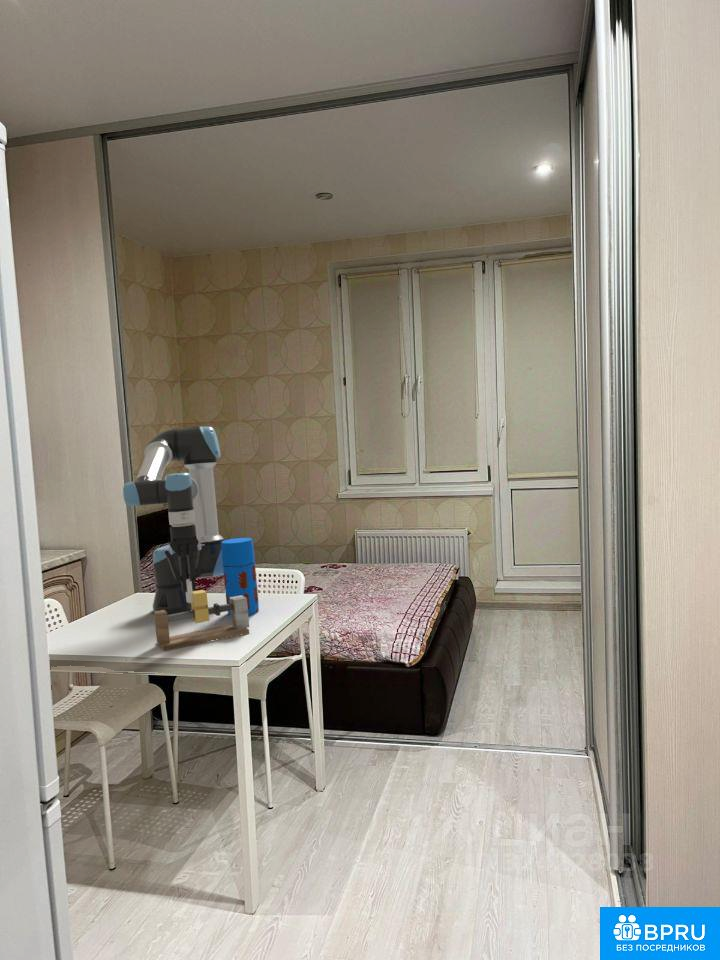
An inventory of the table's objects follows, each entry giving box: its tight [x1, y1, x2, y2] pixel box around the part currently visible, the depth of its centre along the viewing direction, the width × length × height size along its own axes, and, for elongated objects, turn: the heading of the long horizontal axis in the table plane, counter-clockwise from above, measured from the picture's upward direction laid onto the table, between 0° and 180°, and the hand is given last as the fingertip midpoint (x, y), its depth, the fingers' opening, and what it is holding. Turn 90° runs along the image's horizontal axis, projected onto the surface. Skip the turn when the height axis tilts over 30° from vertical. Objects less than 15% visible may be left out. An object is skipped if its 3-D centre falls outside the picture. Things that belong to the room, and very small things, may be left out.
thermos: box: [221, 537, 260, 617], centre depth 257 cm, size 11×11×25 cm
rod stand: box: [153, 595, 250, 651], centre depth 229 cm, size 10×28×10 cm, turn 117°
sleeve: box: [191, 589, 210, 624], centre depth 229 cm, size 4×4×9 cm
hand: (190, 601), depth 227 cm, fingers closed
